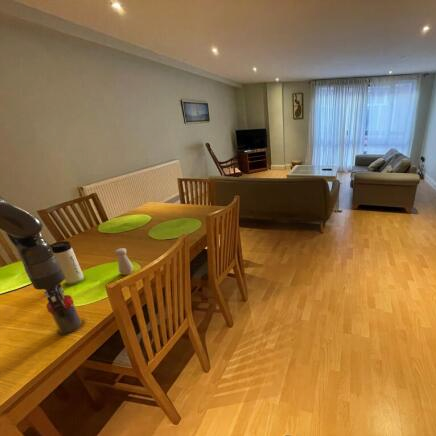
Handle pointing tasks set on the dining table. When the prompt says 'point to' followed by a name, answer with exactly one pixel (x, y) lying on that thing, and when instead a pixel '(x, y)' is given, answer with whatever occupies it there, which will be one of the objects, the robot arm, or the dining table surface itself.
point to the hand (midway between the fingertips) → (64, 310)
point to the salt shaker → (123, 262)
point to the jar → (67, 321)
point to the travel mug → (67, 262)
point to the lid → (67, 301)
